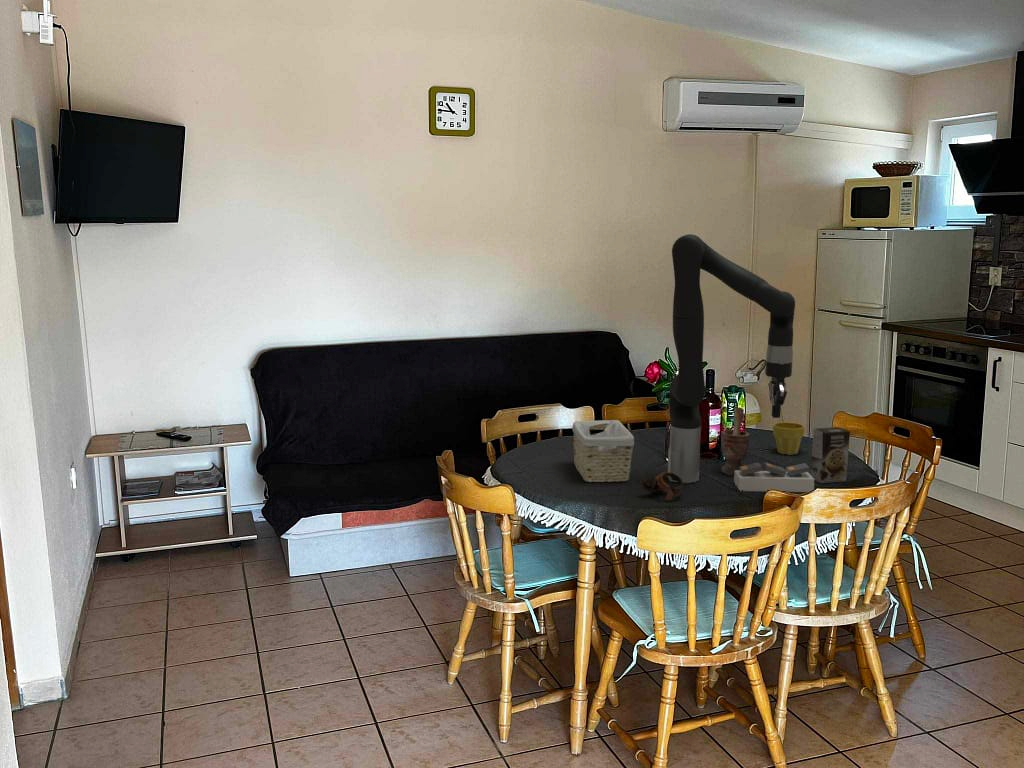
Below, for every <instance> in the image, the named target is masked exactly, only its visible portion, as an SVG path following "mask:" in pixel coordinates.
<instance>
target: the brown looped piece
mask: <svg viewBox="0 0 1024 768" xmlns="http://www.w3.org/2000/svg"><path fill="white" fill-rule="evenodd" d="M668 476H670V477H671V478H672V480H675V481H678V482H677V483H678V485H679V486H676V487H674V486H673V487H672V489H670V485H669V484H668V483H666V482H665V479H667V478H668ZM647 484H649V485H647ZM640 485H641V486H642V488H643V489H644V491H646V492H647V493H648V495H653V492H654V491H660V492H665V493H666V496H665V497H664V500H665V501H668V502H670V501H671V500H672V499H675V498H676V497H678V496H680V495H681V494H682V492H683V485H684V483H683V482H682V480H681V478H680V477H679V476H677V475H676V474H674V473H670V472H668V471H664V472H661V473H660V474H658V475H656V476H655V477H654V478H653V477H651V476H646V477H644V478H643V479H642V480H641V484H640Z"/></svg>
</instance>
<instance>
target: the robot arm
mask: <svg viewBox="0 0 1024 768" xmlns="http://www.w3.org/2000/svg"><path fill="white" fill-rule="evenodd" d="M671 257H672V264H673V265H672V266H673V275H674V290H673V301H672V302H673V303H672V334H673V340H674V341H673V342H674V345H675V350H676V354H677V358H678V372H677V373H678V374H676V375H675V376H674V377H673V378H672V380H671V382H670V384H669V393H668V395H669V398H668V399H669V401H668V402H669V403H668V407H669V408H668V409H669V410H668V412H669V418H670V427H669V428H670V429H669V430H670V431H669V434H670V435H669V446H668V450H667V451H668V453H667V454H668V455H667V456H668V457H667V461H668V462H667V472H670V473H674V474H676V475H677V476H679V477H680V478H681V480H682V482H683V484H692V482H693V483H696V481H697V482H699V479H700V478H699V477H700V456H701V455H700V454H701V436H702V435H701V432H702V417H701V414H700V409H699V404H701V403H702V401H703V399H704V398H705V395H706V384H705V374H704V365H703V363H704V360H703V357H704V356H703V355H704V334H705V333H704V330H705V311H704V302H703V301H704V300H703V297H702V291H701V290H702V289H701V280H700V279H701V270H703V271H704V272H707V273H708V274H711V275H712V276H714V277H715V278H716V279H718V280H719V281H721V282H722V283H723V284H725V286H728V287H729V289H731V290H732V291H735V292H736V293H738V294H739V295H741V296H743V297H745V298H746V299H748V300H750V301H752V302H753V303H755V304H757V305H758V306H760V307H762V308H763V309H765V311H767V312H768V313H769V314H770V315H769V316H770V319H769V322H770V323H769V328H768V333H767V334H768V335H767V348H766V356H765V368H764V369H765V372H764V373H765V376H767V377H770V378H771V379H770V381H769V382H768V392H769V400H770V402H771V417H772V418H774V419H776V418H777V419H778V418H779V419H780V417H781V409H782V406H783V405H784V404H785V400H786V397H787V394H788V392H787V390H786V389H787V383H786V382H785V380H786V379H785V378H791V376H792V374H793V357H794V351H793V345H794V344H793V343H794V318H795V311H796V310H795V309H796V300H795V298H794V296H793V295H792V294H791V293H790V292H789V291H784V290H783V291H782V290H780V289H778V288H777V287H774V286H773V285H771V284H769V282H768V281H767V280H765V279H764V278H762V277H761V276H759V275H756V273H754V272H751V270H748V269H746V268H744V267H743V266H740V265H739V264H737V263H735V262H733V261H732V260H729V259H728V258H726V257H724V256H723V255H721V254H720V253H718V252H717V251H715V250H714V249H713V248H712V247H711V246H709V245H708V243H706V242H705V241H703V239H701V238H700V237H699V236H698V235H696V234H690V233H689V234H684V235H682V236H680V237H678V238H677V239H676V240H675V241H674V243H673V245H672V248H671ZM667 478H668V481H669V482H674V483H678V481H675V480H672V478H671V477H670V476H668V477H667Z"/></svg>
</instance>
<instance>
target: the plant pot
mask: <svg viewBox="0 0 1024 768" xmlns="http://www.w3.org/2000/svg"><path fill="white" fill-rule="evenodd" d="M805 427H806V426H805V425H804V424H802V423H799V422H792V421H779V422H775V423H773V424H772V434H773V435H774V438H775V442H776V443H775V444H776V450H777V453H778V452H779V454H780V453H781V454H780V455H784V454H787V455H786V456H795V455H797V454H798V453H799V449H800V445H801V441H802V440H803V439H802V438H803V437H804V435H805ZM794 454H795V455H794Z"/></svg>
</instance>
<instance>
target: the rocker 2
mask: <svg viewBox="0 0 1024 768" xmlns="http://www.w3.org/2000/svg"><path fill="white" fill-rule="evenodd" d="M761 466H762V469H764V471H768V472H772V473H776V474H779V475H783V476H785V474H786V469H785V468H784V467H782V466H778V465H774V464H772V463H768V462H763V463H762V465H761Z"/></svg>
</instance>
